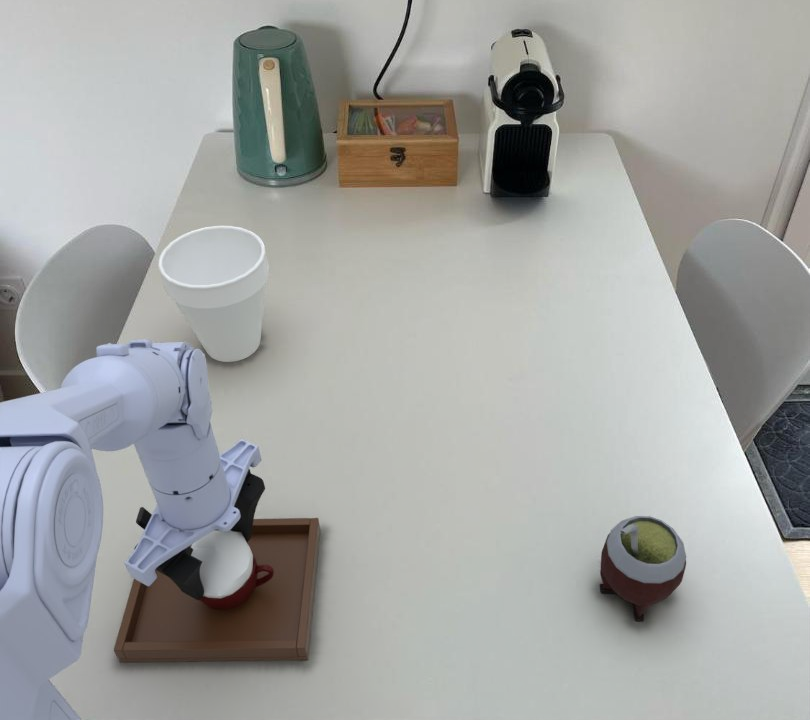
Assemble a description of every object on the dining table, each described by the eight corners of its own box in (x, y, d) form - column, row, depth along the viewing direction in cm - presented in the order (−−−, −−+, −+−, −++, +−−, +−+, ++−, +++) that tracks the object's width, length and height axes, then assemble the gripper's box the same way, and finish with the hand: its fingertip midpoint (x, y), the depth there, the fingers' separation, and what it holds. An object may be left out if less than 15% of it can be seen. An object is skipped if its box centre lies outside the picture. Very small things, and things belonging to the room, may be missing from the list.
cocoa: (285, 577, 76) (265, 499, 68) (250, 635, 72) (224, 559, 64) (200, 545, 79) (171, 466, 71) (162, 599, 75) (126, 522, 67)
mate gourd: (666, 559, 77) (699, 455, 67) (681, 636, 71) (721, 536, 61) (586, 556, 77) (607, 453, 67) (595, 633, 72) (620, 533, 61)
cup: (205, 308, 107) (183, 220, 98) (294, 317, 105) (279, 229, 96) (167, 371, 99) (138, 281, 89) (263, 383, 96) (244, 292, 87)
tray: (119, 662, 71) (113, 650, 70) (155, 532, 81) (150, 520, 80) (308, 660, 71) (305, 648, 69) (320, 530, 81) (318, 517, 79)
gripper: (158, 556, 57) (198, 650, 67) (279, 423, 66) (299, 522, 76) (87, 517, 60) (134, 613, 69) (213, 395, 69) (240, 494, 78)
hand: (216, 564), depth 73 cm, fingers closed on cocoa, 6 cm apart
